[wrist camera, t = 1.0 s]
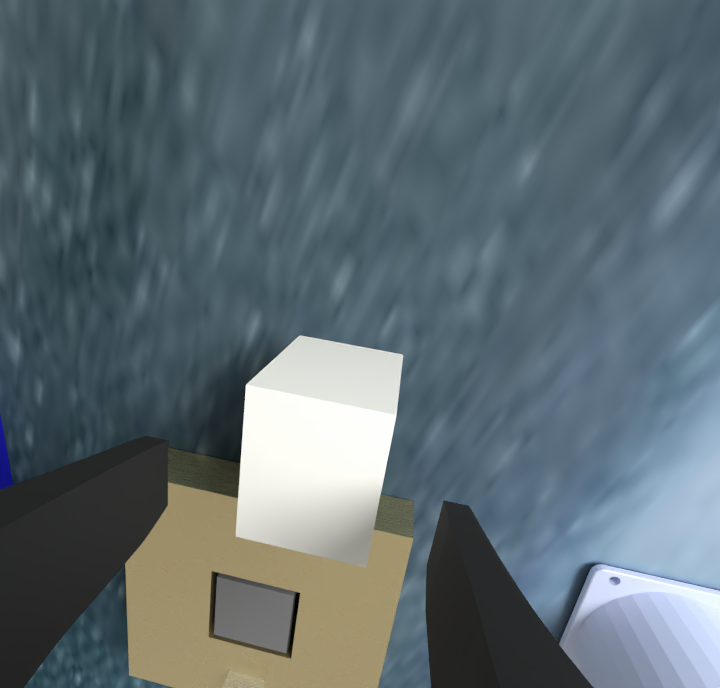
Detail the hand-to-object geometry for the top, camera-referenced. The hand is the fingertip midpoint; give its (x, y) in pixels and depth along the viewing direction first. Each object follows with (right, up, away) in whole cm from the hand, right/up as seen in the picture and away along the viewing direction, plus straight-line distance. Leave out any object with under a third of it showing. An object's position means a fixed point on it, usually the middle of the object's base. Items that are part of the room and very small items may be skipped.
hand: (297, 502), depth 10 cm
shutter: (-4, -10, +11) cm, 15 cm away
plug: (+1, +2, +8) cm, 9 cm away
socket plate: (-4, -9, +13) cm, 16 cm away
